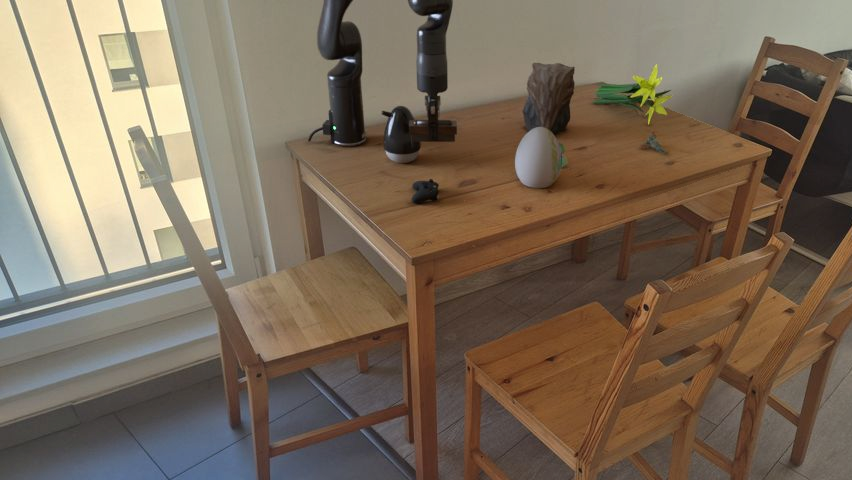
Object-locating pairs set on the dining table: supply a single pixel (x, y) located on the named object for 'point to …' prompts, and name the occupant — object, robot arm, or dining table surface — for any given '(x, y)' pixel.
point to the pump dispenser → (399, 136)
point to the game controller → (425, 191)
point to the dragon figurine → (652, 142)
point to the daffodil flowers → (635, 94)
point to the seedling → (564, 160)
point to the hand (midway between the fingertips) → (433, 137)
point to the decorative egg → (538, 158)
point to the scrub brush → (421, 130)
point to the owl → (549, 97)
